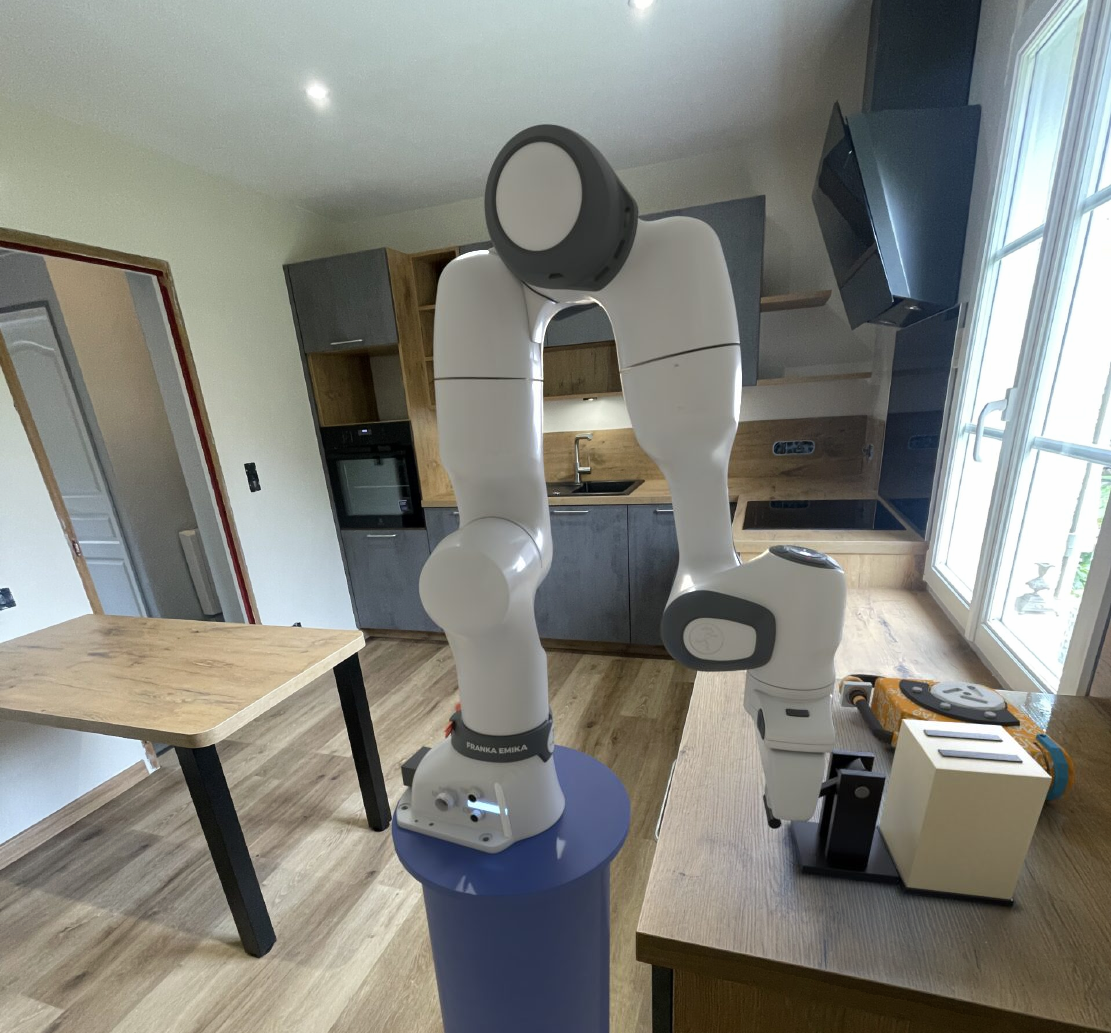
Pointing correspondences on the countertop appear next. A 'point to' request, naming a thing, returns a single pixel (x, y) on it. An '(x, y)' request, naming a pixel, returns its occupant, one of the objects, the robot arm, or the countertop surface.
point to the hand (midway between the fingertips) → (773, 801)
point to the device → (952, 716)
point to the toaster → (961, 810)
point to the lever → (826, 789)
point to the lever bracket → (847, 827)
